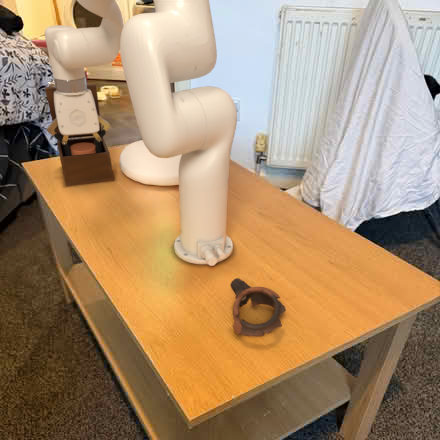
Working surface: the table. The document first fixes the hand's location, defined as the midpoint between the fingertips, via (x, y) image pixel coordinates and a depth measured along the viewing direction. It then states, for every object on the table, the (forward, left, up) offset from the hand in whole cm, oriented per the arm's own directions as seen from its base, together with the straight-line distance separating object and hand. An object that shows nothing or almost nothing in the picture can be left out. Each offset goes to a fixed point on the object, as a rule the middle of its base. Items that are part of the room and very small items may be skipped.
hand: (84, 155), depth 113 cm
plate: (-3, -22, -6) cm, 23 cm away
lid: (+5, 0, +10) cm, 11 cm away
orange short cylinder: (0, 0, -1) cm, 1 cm away
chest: (+1, 0, -5) cm, 5 cm away
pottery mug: (-70, -20, -6) cm, 73 cm away
